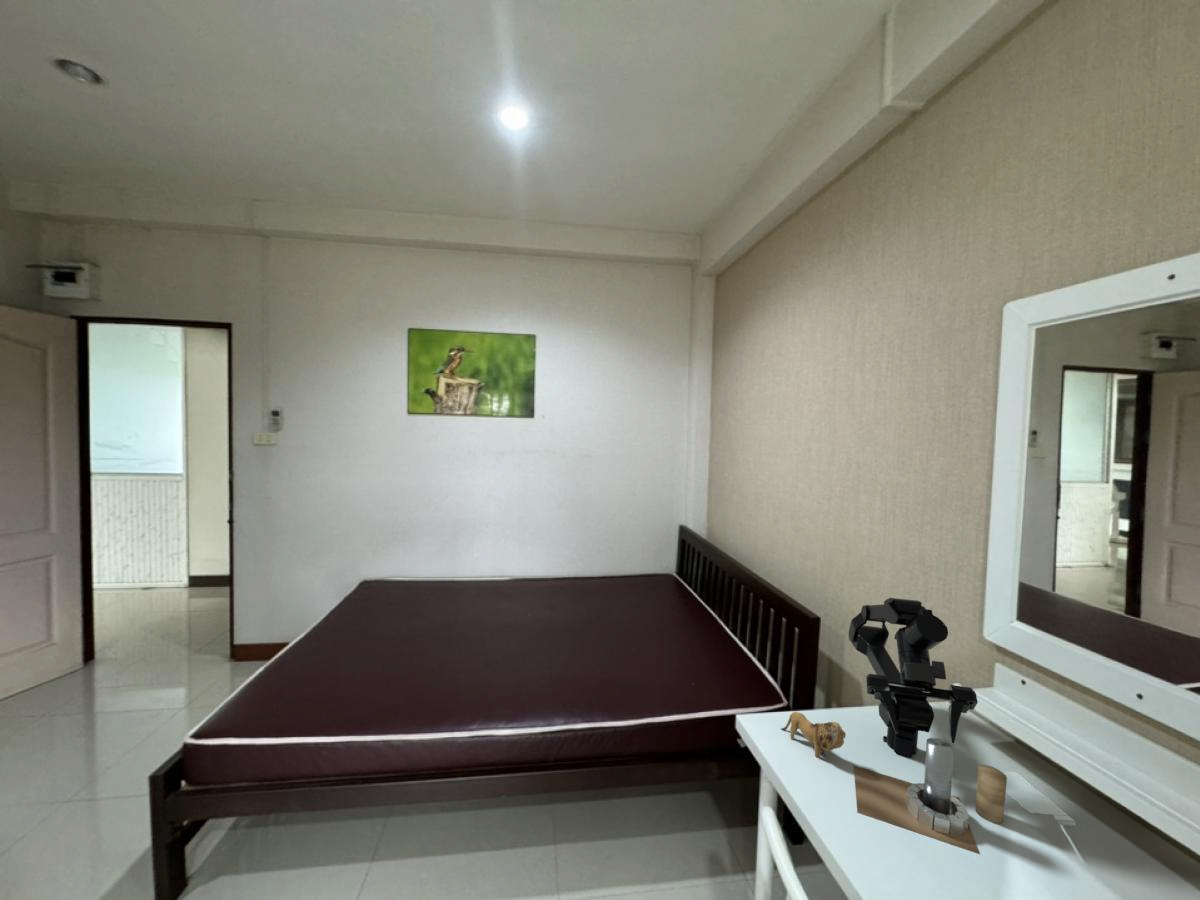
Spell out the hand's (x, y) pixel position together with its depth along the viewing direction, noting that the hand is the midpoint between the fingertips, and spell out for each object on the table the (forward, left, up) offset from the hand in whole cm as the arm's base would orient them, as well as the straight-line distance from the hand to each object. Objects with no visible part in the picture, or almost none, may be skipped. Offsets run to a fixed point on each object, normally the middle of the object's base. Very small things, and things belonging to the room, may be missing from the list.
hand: (924, 737), depth 94 cm
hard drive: (-8, +18, -12) cm, 23 cm away
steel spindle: (+7, +1, -10) cm, 12 cm away
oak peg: (+2, +10, -11) cm, 15 cm away
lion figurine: (-3, -20, -11) cm, 23 cm away
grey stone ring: (+7, +1, -10) cm, 12 cm away
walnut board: (+6, -3, -11) cm, 13 cm away
